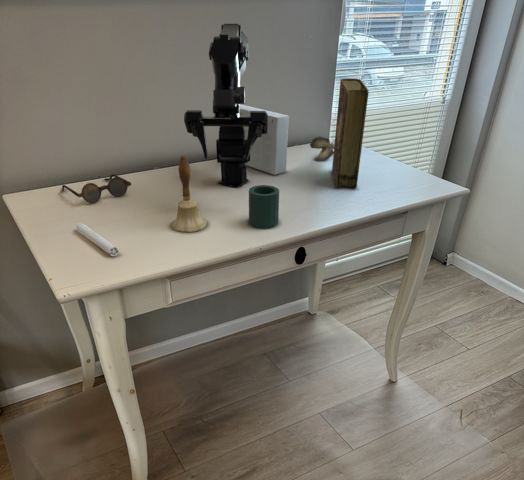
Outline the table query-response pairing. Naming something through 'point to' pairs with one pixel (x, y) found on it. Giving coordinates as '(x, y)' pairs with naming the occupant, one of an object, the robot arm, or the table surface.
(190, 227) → the hand bell
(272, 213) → the jar
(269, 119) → the skincare box
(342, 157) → the book
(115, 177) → the eyeglasses
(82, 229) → the white cylindrical rod
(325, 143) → the open clam shell
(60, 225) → the table surface
